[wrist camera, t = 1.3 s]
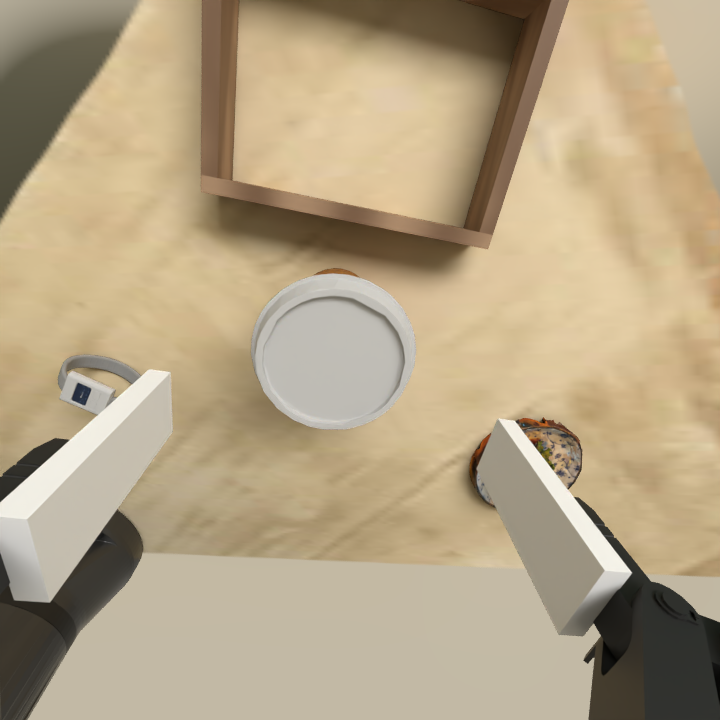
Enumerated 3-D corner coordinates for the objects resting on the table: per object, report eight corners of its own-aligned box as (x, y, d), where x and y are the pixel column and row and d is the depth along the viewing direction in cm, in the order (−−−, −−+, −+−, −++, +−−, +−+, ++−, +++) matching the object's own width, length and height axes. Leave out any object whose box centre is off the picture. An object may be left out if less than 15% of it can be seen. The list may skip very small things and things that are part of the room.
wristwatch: (161, 372, 32) (131, 401, 27) (150, 394, 33) (120, 426, 28) (90, 338, 30) (46, 363, 26) (80, 363, 31) (37, 391, 27)
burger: (520, 513, 43) (555, 573, 36) (446, 475, 39) (469, 532, 33) (596, 445, 39) (651, 497, 32) (521, 396, 36) (565, 443, 29)
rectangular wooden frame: (217, 192, 26) (201, 191, 23) (224, -94, 20) (202, -148, 17) (471, 243, 29) (487, 249, 25) (544, 3, 23) (578, -29, 19)
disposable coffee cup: (276, 349, 32) (243, 428, 21) (284, 238, 28) (248, 265, 17) (380, 362, 33) (401, 443, 22) (401, 257, 29) (439, 293, 18)
